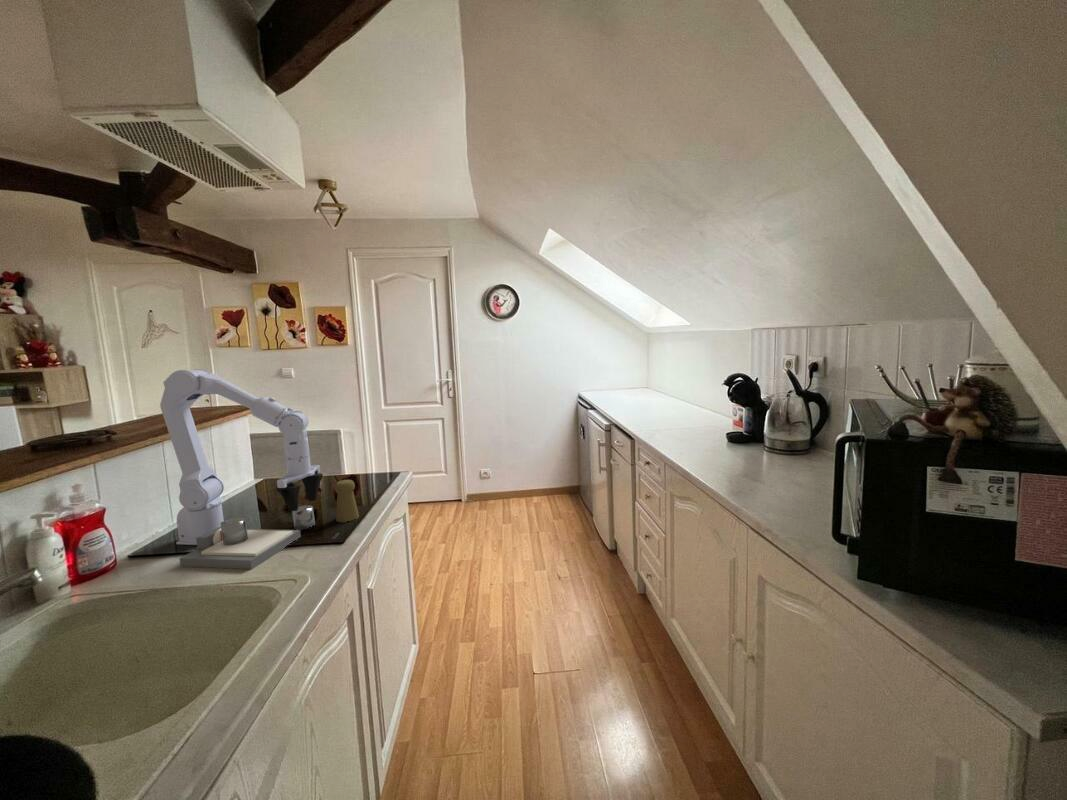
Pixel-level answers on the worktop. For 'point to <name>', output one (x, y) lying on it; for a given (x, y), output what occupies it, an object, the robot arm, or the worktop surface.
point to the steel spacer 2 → (303, 517)
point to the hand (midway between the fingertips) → (303, 505)
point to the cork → (346, 501)
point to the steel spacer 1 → (234, 531)
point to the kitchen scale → (238, 549)
